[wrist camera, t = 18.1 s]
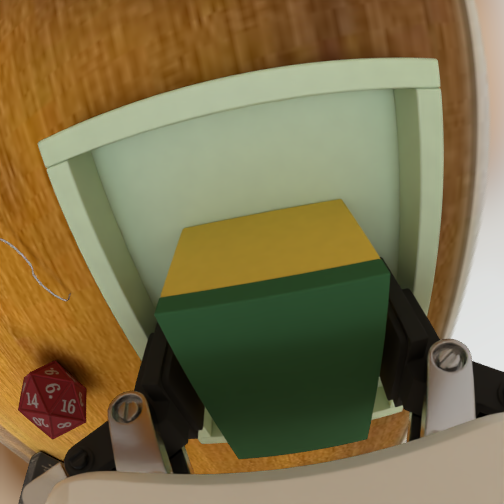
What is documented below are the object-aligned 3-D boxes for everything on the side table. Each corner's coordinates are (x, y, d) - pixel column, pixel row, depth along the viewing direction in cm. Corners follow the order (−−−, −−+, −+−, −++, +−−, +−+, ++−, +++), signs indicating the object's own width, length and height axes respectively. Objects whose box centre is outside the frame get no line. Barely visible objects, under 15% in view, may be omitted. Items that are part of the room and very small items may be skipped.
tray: (391, 381, 16) (402, 411, 14) (204, 412, 17) (201, 444, 15) (403, 57, 8) (438, 58, 6) (70, 127, 9) (35, 142, 7)
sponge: (347, 363, 14) (367, 439, 10) (238, 381, 14) (238, 459, 11) (341, 197, 10) (391, 273, 6) (182, 227, 10) (153, 314, 7)
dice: (69, 343, 14) (41, 408, 10) (108, 396, 16) (92, 454, 13) (21, 344, 14) (-8, 399, 11) (60, 393, 16) (42, 445, 13)
